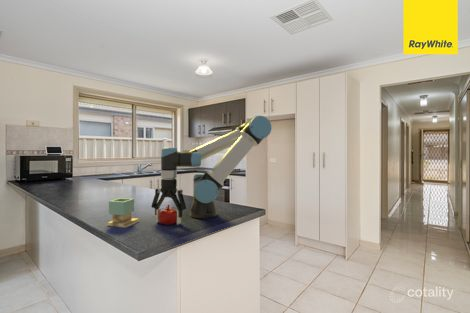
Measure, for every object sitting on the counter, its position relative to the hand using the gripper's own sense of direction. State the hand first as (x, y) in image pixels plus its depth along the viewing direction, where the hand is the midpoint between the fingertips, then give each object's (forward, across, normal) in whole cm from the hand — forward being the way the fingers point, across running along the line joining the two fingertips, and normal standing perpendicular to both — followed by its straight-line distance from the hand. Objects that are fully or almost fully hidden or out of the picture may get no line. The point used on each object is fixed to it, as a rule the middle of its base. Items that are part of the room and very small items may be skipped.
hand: (168, 222), depth 122 cm
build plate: (0, +20, +7) cm, 22 cm away
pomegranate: (0, 0, 0) cm, 0 cm away
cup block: (-5, +21, +8) cm, 23 cm away
